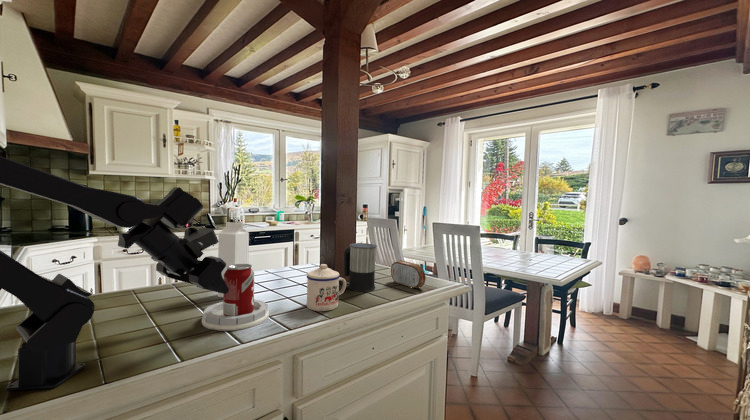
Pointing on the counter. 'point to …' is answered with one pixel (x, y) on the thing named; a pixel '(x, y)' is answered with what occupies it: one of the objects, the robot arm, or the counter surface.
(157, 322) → the counter surface
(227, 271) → the soda can
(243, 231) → the milk
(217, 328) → the ring tray
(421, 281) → the tin
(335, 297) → the teacup with lid
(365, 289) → the milk frother
